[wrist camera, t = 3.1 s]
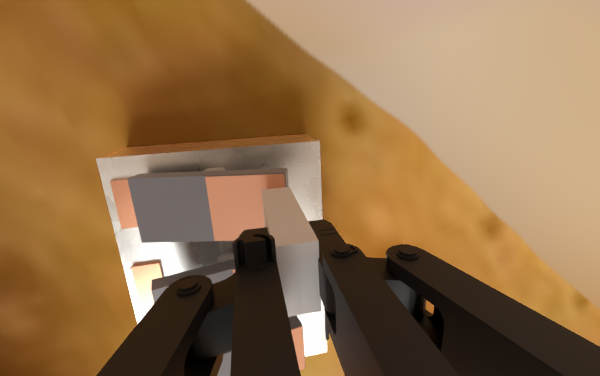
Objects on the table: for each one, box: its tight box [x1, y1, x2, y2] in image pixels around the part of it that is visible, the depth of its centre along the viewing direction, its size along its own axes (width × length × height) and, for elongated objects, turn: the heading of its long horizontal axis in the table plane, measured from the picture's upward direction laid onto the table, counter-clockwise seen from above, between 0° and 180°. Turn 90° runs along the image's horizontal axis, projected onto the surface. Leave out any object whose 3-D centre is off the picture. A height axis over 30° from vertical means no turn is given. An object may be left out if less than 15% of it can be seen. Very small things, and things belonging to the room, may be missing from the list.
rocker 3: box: [217, 315, 305, 376], centre depth 22 cm, size 9×4×2 cm, turn 92°
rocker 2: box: [151, 253, 235, 303], centre depth 20 cm, size 9×4×2 cm, turn 92°
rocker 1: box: [127, 167, 289, 243], centre depth 18 cm, size 9×4×2 cm, turn 93°
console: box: [96, 134, 327, 357], centre depth 24 cm, size 14×18×5 cm
